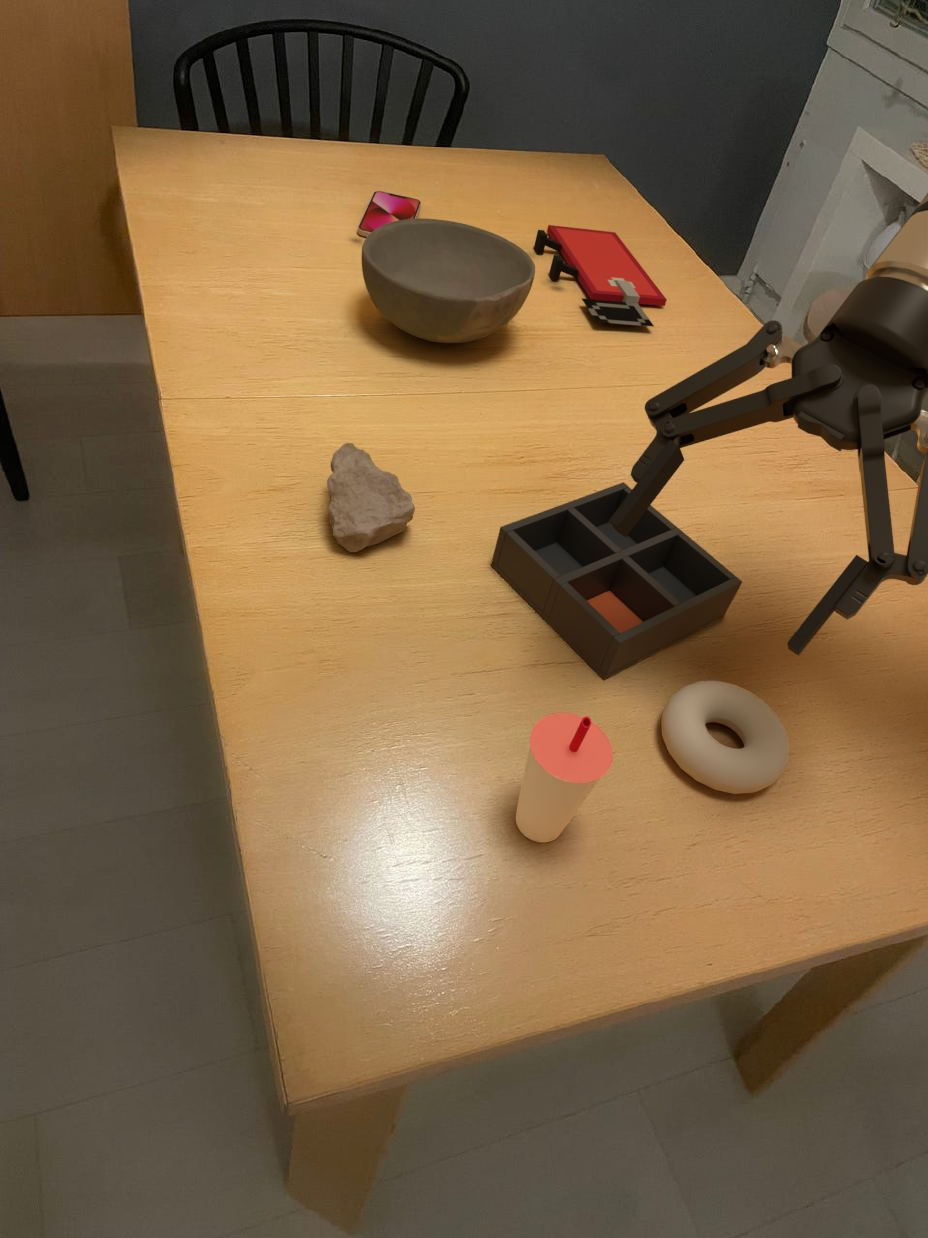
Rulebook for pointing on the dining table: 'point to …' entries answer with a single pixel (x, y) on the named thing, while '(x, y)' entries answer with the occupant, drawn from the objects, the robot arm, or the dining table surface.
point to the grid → (613, 579)
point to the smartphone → (387, 211)
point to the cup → (560, 773)
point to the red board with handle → (602, 273)
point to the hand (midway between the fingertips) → (700, 587)
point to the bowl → (445, 278)
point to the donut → (715, 760)
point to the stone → (365, 500)
